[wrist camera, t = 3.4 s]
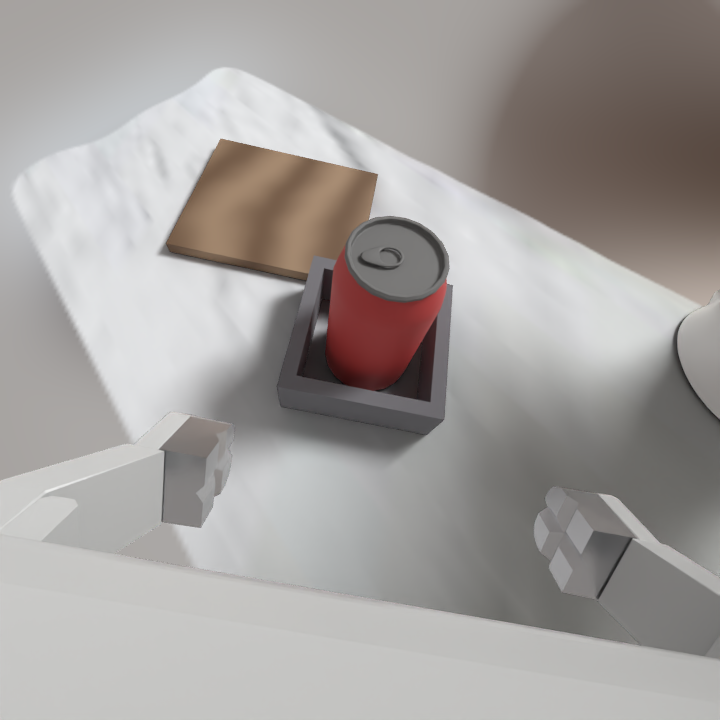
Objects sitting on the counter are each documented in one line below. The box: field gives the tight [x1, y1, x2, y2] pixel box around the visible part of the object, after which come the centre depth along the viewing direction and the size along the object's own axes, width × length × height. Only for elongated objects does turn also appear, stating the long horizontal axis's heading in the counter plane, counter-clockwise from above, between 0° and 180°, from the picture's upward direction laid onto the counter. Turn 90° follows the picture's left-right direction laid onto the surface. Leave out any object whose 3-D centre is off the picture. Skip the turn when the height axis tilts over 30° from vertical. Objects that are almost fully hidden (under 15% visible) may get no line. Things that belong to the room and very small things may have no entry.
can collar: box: [277, 256, 453, 435], centre depth 28 cm, size 11×11×4 cm
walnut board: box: [166, 139, 378, 281], centre depth 35 cm, size 16×14×1 cm
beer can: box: [325, 216, 449, 391], centre depth 25 cm, size 7×7×12 cm
